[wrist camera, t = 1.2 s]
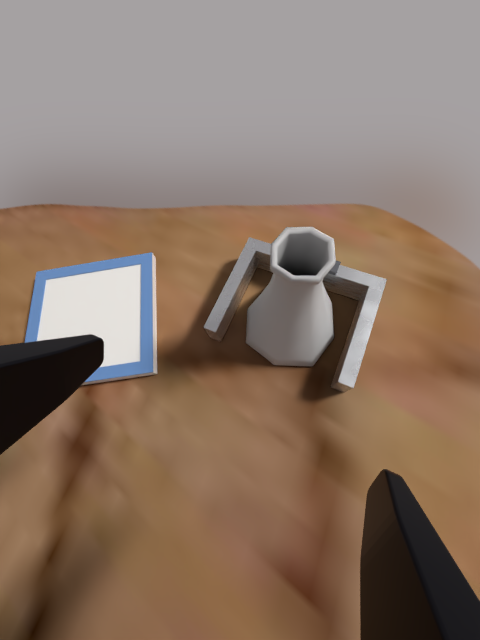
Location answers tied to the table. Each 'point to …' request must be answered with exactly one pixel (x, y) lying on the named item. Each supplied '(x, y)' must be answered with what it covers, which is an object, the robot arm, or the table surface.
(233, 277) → the grey u-shaped bracket
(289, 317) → the flask
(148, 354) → the white tile
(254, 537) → the table surface
